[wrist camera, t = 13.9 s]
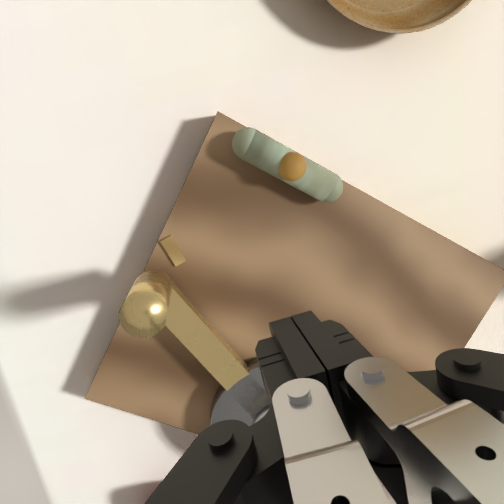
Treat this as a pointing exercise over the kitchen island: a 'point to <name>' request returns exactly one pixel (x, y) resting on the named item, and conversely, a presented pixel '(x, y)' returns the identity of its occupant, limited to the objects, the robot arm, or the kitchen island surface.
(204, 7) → the kitchen island surface
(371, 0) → the plant saucer
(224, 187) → the levelling board
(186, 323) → the grey and tan lever
